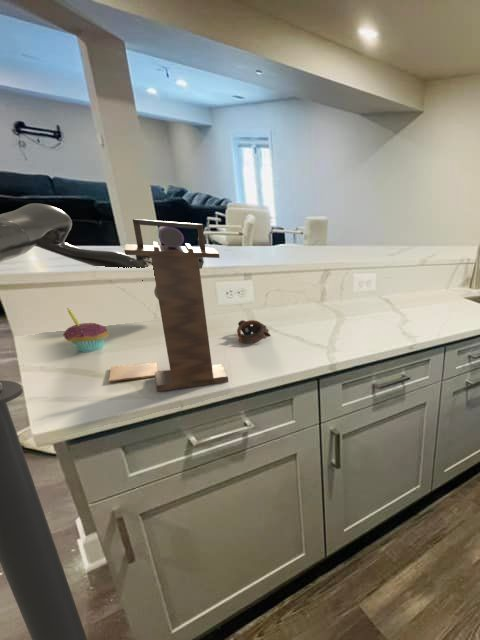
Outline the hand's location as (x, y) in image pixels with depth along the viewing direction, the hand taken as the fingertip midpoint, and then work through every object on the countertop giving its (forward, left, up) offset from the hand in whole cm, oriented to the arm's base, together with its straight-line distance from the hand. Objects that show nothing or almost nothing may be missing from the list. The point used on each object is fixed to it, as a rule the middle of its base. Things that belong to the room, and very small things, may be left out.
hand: (170, 249), depth 99 cm
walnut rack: (0, -18, -29) cm, 35 cm away
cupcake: (-20, +12, -29) cm, 38 cm away
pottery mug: (+18, +6, -29) cm, 35 cm away
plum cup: (0, -12, +3) cm, 12 cm away
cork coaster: (-11, -9, -29) cm, 33 cm away
